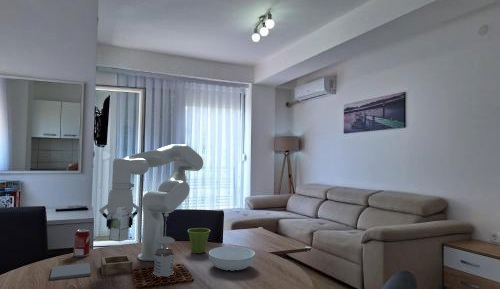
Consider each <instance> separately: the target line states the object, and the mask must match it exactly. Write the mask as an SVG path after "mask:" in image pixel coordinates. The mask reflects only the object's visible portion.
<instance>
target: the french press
mask: <svg viewBox="0 0 500 289" xmlns="http://www.w3.org/2000/svg"><path fill="white" fill-rule="evenodd" d="M163 214H164V215H163V217H165V220H167V217H169V216H170V215H169V214H170V213H163ZM164 231H165V232H164V235H163V237H160V238H158V239H156V240H155V242H157V243H159V246H160V244H162V246H163V248H160V249H157V250H156V252H157V253H155V258H154V261H153V262H154V263H153V271H152V273H153V274H154V275H157V276H170V275H172V274H173V273H174V272H175V271H174V258H175V257H174V255H175V253H174V249H173V248H172V249H171V247H170V248H169V247H166V245H168V244H170V245H171V244H173V243H175V241H176V239H174V238H173V237H171V236H167V234H166V233H167V225H165V228H164ZM161 253H162V254H163V257H161ZM155 260H156V261H155Z"/></svg>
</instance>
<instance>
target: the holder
mask: <svg viewBox="0 0 500 289" xmlns="http://www.w3.org/2000/svg"><path fill="white" fill-rule="evenodd" d="M133 265H134V263H133V260H132V257H131V256H130V254H123V255H111V256H102V257H101V258H100V271H101V274H102V275H107V276H108V275H114V274H115V275H116V274H122V273H124V274H125V273H131V272H133Z"/></svg>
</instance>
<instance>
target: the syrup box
mask: <svg viewBox="0 0 500 289" xmlns="http://www.w3.org/2000/svg"><path fill="white" fill-rule="evenodd" d="M129 217H130V215H129V214H128V213H126V208H125V206H124V207H118V208H117V210H116V213H115V214H112V216H111V217H110V220H111V225H110V229H109V237H108V238H109V239H108V240H109V241H114V242H123V241H127V240H129V234H130V232H129V229H130V228H129Z"/></svg>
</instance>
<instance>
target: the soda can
mask: <svg viewBox="0 0 500 289" xmlns="http://www.w3.org/2000/svg"><path fill="white" fill-rule="evenodd" d="M91 234H92V233H91V231H90V229H89V228H88V229H87V228H81V229H77V230H76V232H75V234H74V239H73V240H74V241H73V242H74V243H73V244H74V245H73V256H75V257H76V258H84V257H88V255H90V248H91Z"/></svg>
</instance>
